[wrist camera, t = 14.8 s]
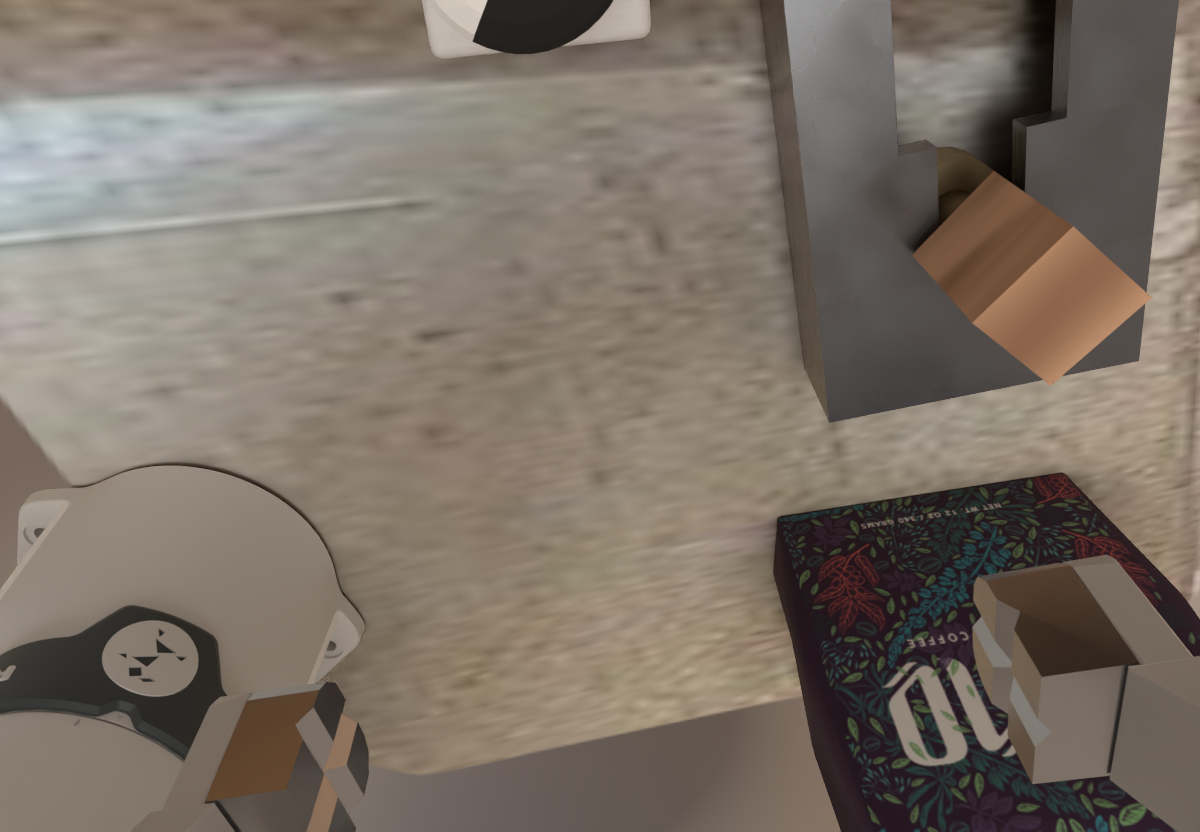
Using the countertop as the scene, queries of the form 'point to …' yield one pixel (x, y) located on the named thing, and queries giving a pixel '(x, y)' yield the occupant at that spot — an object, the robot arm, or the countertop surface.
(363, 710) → the countertop surface
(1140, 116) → the keyhole plate
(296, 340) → the countertop surface
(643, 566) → the countertop surface
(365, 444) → the countertop surface
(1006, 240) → the slider
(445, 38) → the medicine bottle
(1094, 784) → the decorative box
